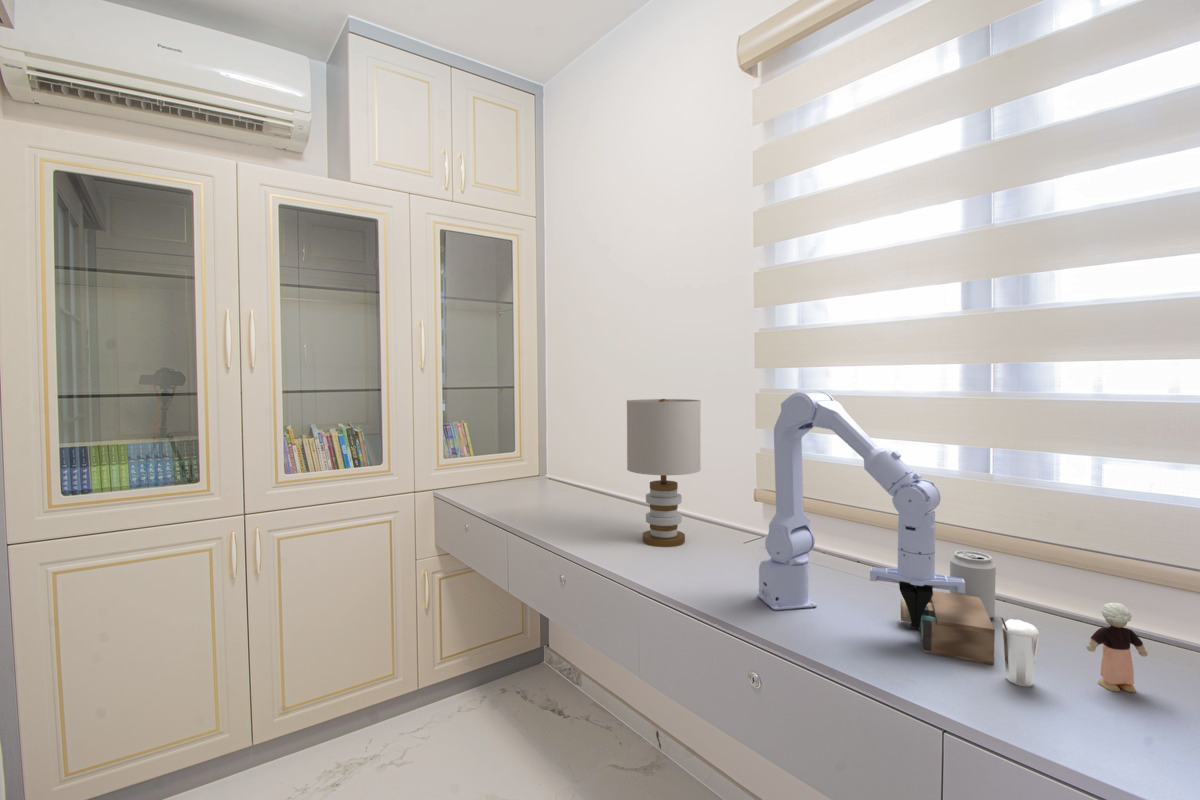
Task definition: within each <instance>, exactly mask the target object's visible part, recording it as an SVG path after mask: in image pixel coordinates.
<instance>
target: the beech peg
mask: <svg viewBox="0 0 1200 800" xmlns="http://www.w3.org/2000/svg"><path fill="white" fill-rule="evenodd" d="M927 606H930V607H933V605H932V603H928V604H927ZM900 621H901V622H907V623H911V618H910V614H909V611H908V608H907V605H906V603H905V600H904V598H900Z"/></svg>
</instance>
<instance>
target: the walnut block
mask: <svg viewBox="0 0 1200 800" xmlns="http://www.w3.org/2000/svg"><path fill="white" fill-rule="evenodd" d="M929 603H932V605H933V607H930V606H926V608H925V610H924V612H923V614H922V615H924V616H930V617H935V618H936V622H935V621H928V620H923V639H922V635H921V620H920V625H919V629H918V630H919V635H920V641H921V647H922V652H923V653H925V654H932V655H937V656H938V655H939V656H943V657H949V658H955V659H961V660H965V661H972V662H976V663H982V664H988V665H995V640H996V639H995V638H996V637H995V636H996V635H995V632H996V631H995V628H994V625H993V623H992V621H991V618H989V616H988V614H987V612H986V610H985V608H984V605H983V603H982V601H981V599H980V597H974V596H966V595H959V594H952V593H950V592H943V591H936V590H933V596H932V598H931V600H930V601H929Z"/></svg>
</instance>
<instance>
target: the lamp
mask: <svg viewBox="0 0 1200 800" xmlns="http://www.w3.org/2000/svg"><path fill="white" fill-rule="evenodd" d="M701 468H702V467H701V400H700V399H688V398H687V399H685V398H684V399H682V398H681V399H680V398H677V399H676V398H673V399H672V398H658V399H657V398H656V399H655V398H653V399H652V398H649V399H648V398H647V399H628V400H626V470H627V471H628V472H630V473H635V474H640V475H649V476H660V479H658V480H653V481H650V482H649V492H648V493H646V494H645V503H646V504H648V505H649V512H647V513H646V514H645V522H646V523H647V524H648V525H649V527H650V530H646V531H644V532H643V533H642V542H643V544H644V543H645V544H646V545H649V546H653V547H661V548H672V547H679V546H681V545H683V544H685V542H686V535H685V533H684V532H681V531H680V530H678V527H679V525H680V524H682V522H683V521H682V514H681V513H679V512H678V508H679V507H678V506H679V505H681V504H682V501H683V499H682V497H683V496H682V495H681V494H680V493H678V487H679V486H678V482H677V481H675V480H667V476H682V475H691V474H696V473H697V474H698V473H700V472H701V470H702V469H701Z"/></svg>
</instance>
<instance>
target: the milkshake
mask: <svg viewBox="0 0 1200 800" xmlns="http://www.w3.org/2000/svg"><path fill="white" fill-rule="evenodd" d="M1000 619H1001V621H1002V625H1001V628H1002V638H1003V647H1004V648H1003V650H1004V665H1005V666H1004V667H1005V679H1007V681H1008V682H1009V683H1012V684H1013V685H1015V686H1020V687H1024V688H1025V687H1028V688H1029V687H1032V686H1033V685H1034V679H1035V669H1036V662H1037V661H1036V659H1037V651H1038V646H1039V639H1040V632H1039V630H1038V629H1037V627H1036V626H1035V625H1034V624H1031V623H1029V622H1026V621H1023V620H1021V619H1013V618H1010V619H1007V620H1006V621H1005V619H1004V618H1003V617H1001V616H1000Z"/></svg>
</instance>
